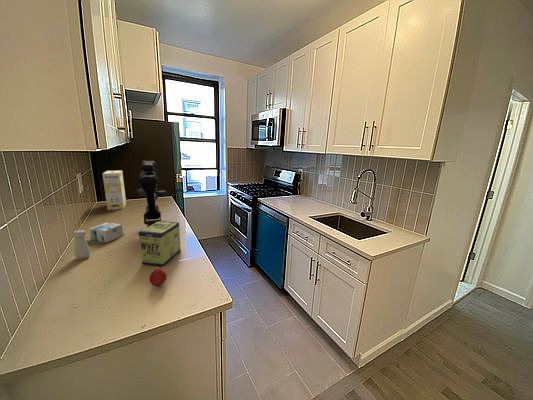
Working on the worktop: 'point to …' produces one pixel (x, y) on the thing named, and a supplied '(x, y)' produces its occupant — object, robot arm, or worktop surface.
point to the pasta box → (114, 189)
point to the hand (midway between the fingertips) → (152, 206)
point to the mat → (96, 241)
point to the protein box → (159, 243)
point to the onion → (158, 277)
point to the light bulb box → (106, 232)
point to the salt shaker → (81, 245)
